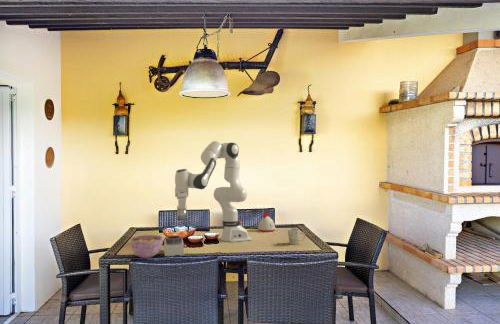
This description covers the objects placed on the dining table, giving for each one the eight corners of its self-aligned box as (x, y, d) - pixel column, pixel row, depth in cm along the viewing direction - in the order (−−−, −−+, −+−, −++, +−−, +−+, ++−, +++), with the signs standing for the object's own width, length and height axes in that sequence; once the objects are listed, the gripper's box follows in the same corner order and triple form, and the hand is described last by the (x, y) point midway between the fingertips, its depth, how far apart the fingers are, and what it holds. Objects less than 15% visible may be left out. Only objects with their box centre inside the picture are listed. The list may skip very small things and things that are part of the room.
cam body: (182, 248, 286) (182, 234, 286) (183, 255, 269) (183, 240, 268) (164, 249, 284) (164, 235, 283) (164, 256, 266) (164, 241, 266)
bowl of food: (153, 251, 280) (153, 233, 280) (168, 256, 265) (168, 238, 265) (124, 256, 267) (124, 238, 266) (139, 262, 252) (139, 243, 251)
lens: (186, 218, 283) (186, 205, 283) (186, 220, 277) (186, 206, 277) (176, 219, 281) (176, 205, 281) (177, 220, 275) (177, 206, 275)
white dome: (255, 231, 343) (254, 212, 342) (263, 228, 355) (263, 210, 354) (270, 233, 336) (269, 214, 335) (278, 229, 347) (278, 211, 347)
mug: (287, 242, 303) (287, 228, 303) (304, 241, 303) (304, 228, 303) (288, 244, 295) (288, 230, 294) (306, 244, 295) (306, 230, 295)
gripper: (176, 192, 288) (176, 212, 289) (177, 195, 268) (177, 216, 268) (185, 192, 290) (185, 212, 290) (187, 195, 270) (187, 216, 270)
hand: (181, 214), depth 279 cm, fingers closed on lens, 6 cm apart
